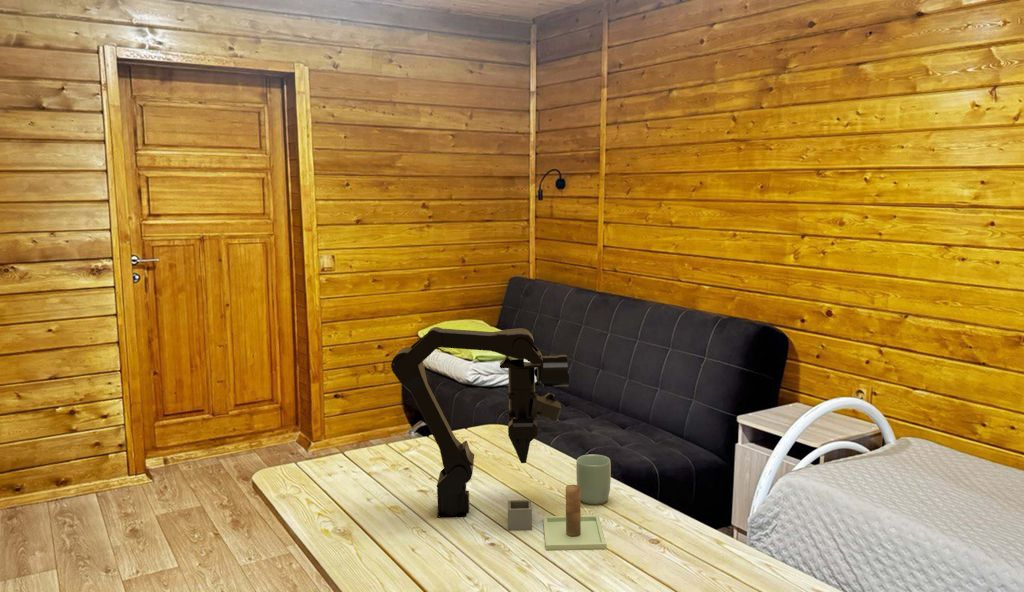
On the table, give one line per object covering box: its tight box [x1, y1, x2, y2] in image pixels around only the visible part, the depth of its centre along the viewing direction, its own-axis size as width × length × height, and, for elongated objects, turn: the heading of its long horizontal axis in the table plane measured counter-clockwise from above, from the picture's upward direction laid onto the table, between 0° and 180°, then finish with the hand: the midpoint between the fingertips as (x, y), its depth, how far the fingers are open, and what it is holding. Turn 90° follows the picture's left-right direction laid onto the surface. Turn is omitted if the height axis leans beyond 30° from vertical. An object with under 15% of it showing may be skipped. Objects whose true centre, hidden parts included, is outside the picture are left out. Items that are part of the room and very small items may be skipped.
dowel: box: [565, 484, 582, 537], centre depth 162 cm, size 3×3×10 cm
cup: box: [575, 453, 612, 506], centre depth 180 cm, size 8×8×10 cm
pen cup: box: [507, 499, 533, 532], centre depth 168 cm, size 5×5×5 cm
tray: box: [542, 514, 608, 551], centre depth 163 cm, size 12×14×2 cm
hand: (523, 455), depth 174 cm, fingers open, 9 cm apart
